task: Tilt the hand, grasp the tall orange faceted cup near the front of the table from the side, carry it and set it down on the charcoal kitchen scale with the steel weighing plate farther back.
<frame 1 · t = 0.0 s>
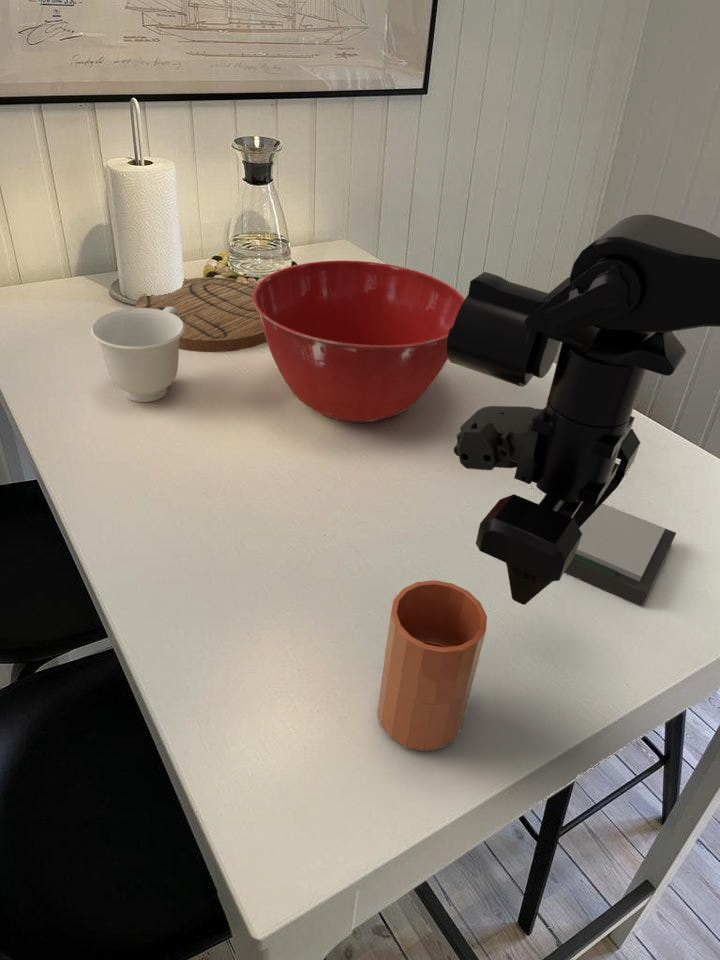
hand: (540, 568, 62), 14 cm above the table, tool pointing down, fingers open, 9 cm apart
trivet: (212, 318, 126), on the table
scale: (604, 552, 85), on the table
teacup: (151, 388, 107), on the table
mixing bowl: (354, 399, 108), on the table
orange faceted cup: (419, 717, 65), on the table
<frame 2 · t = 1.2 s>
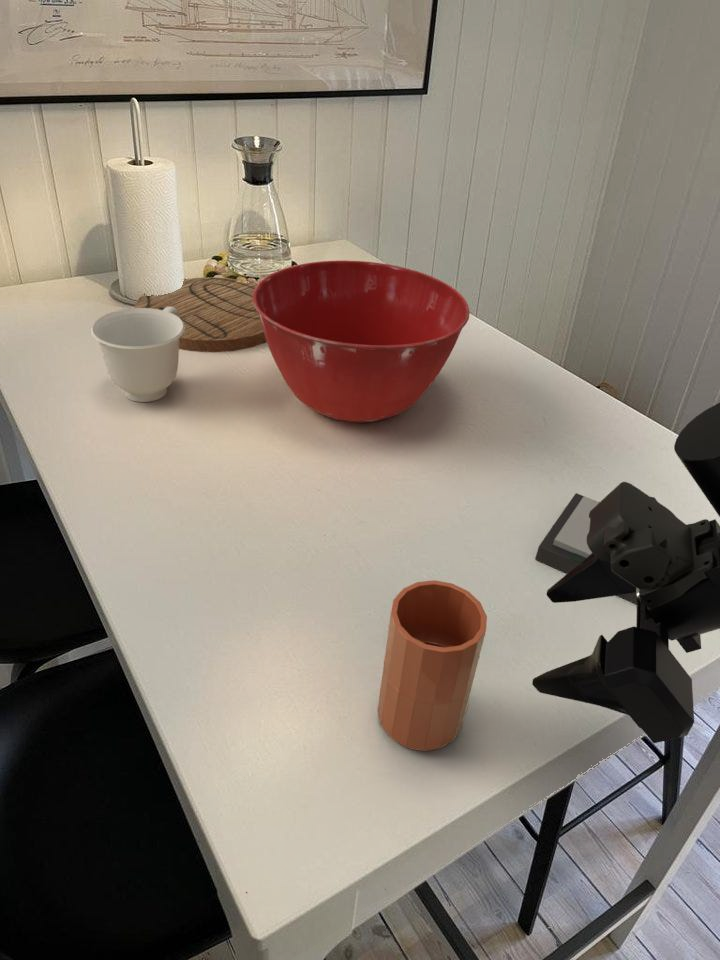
hand: (542, 638, 56), 13 cm above the table, tool tilted 45°, fingers open, 9 cm apart
nothing on the table moved.
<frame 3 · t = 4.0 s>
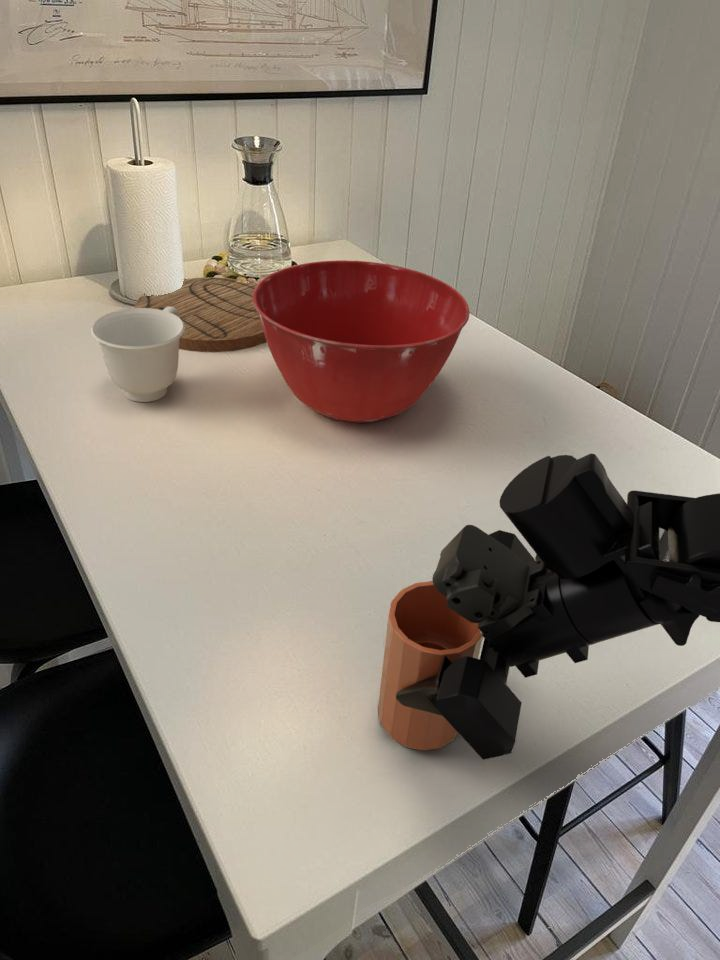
hand: (411, 661, 62), 7 cm above the table, tool tilted 45°, fingers closed on orange faceted cup, 7 cm apart
orange faceted cup: (419, 716, 65), on the table, touching gripper
everything else where it was.
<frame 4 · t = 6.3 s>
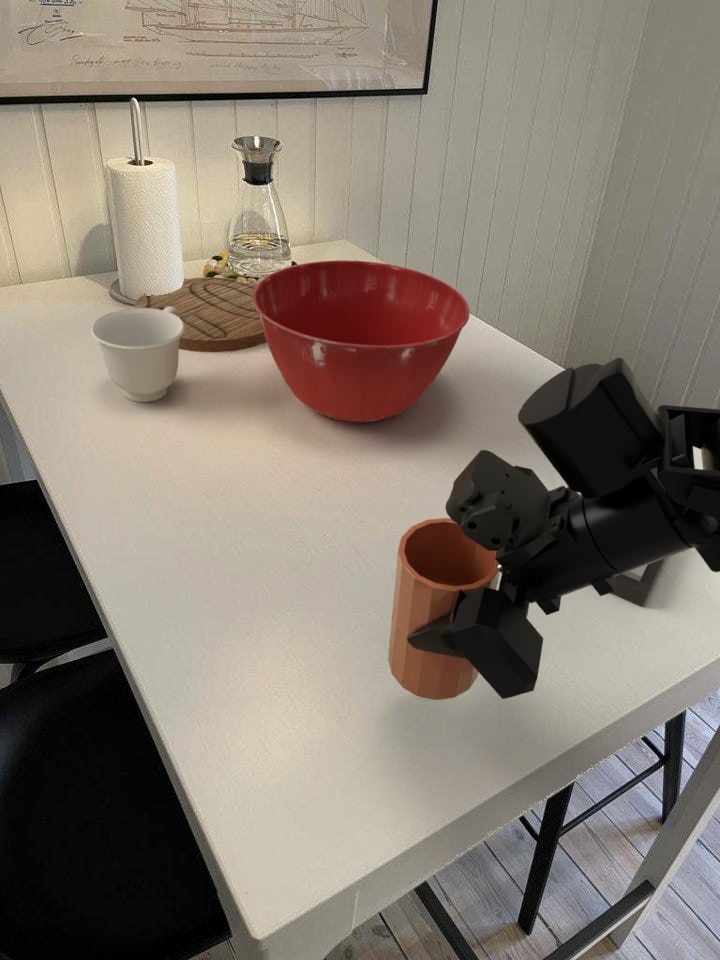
hand: (422, 606, 58), 13 cm above the table, tool tilted 45°, fingers closed on orange faceted cup, 7 cm apart
orange faceted cup: (432, 666, 62), point 7 cm above the table, touching gripper
everything else where it was.
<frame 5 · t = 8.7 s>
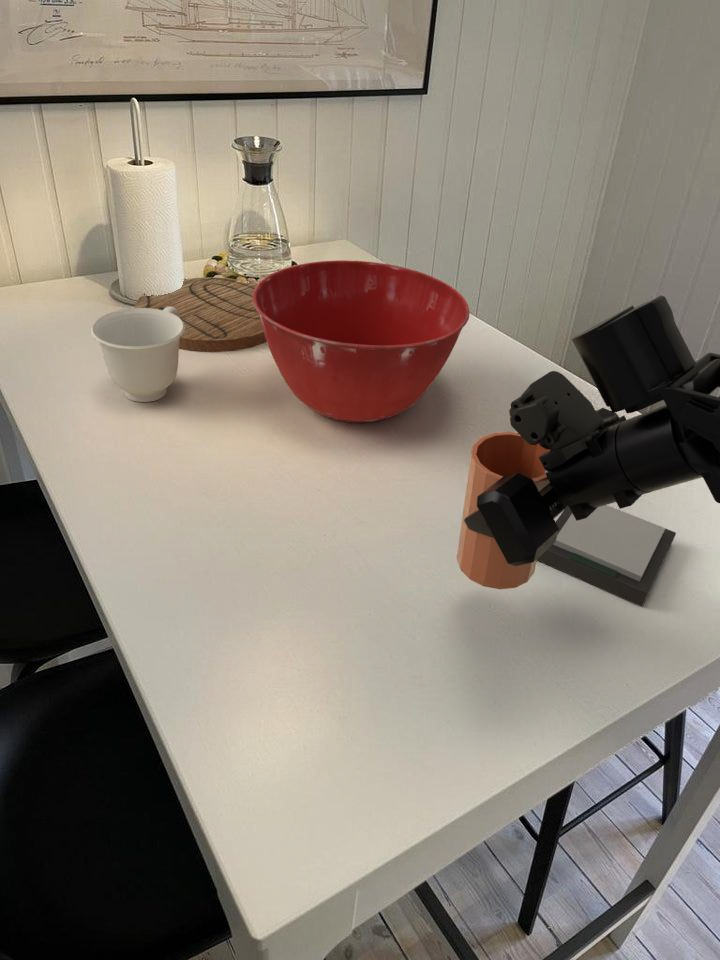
hand: (491, 504, 69), 13 cm above the table, tool tilted 45°, fingers closed on orange faceted cup, 7 cm apart
orange faceted cup: (494, 566, 72), point 7 cm above the table, touching gripper
everything else where it was.
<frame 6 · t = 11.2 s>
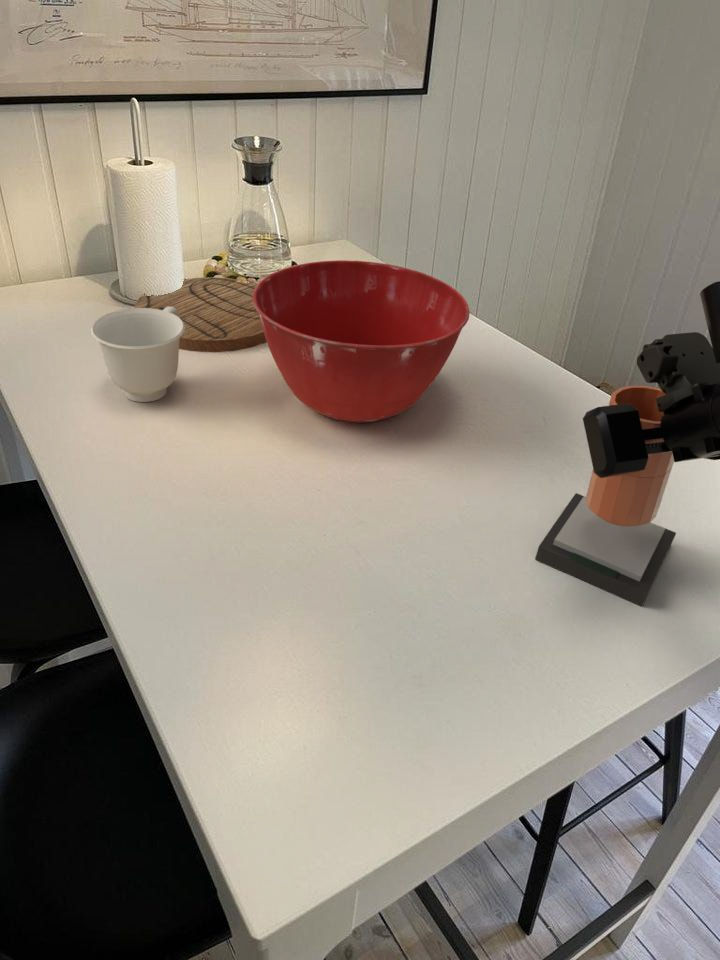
hand: (626, 449, 78), 13 cm above the table, tool tilted 45°, fingers closed on orange faceted cup, 7 cm apart
orange faceted cup: (619, 508, 81), point 7 cm above the table, touching gripper
everything else where it was.
when the fingers open (10 cm above the table, at t = 13.4 s): orange faceted cup stays where it is, resting on scale.
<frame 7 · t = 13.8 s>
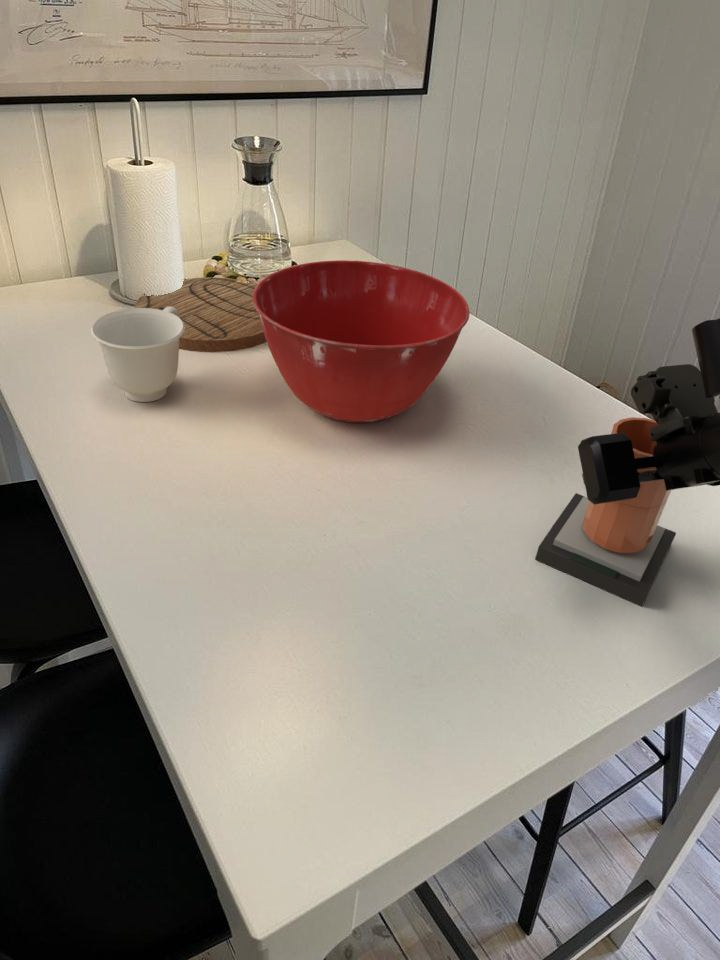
hand: (622, 473, 80), 10 cm above the table, tool tilted 45°, fingers open, 9 cm apart
orange faceted cup: (614, 534, 83), point 3 cm above the table, touching scale
everything else where it was.
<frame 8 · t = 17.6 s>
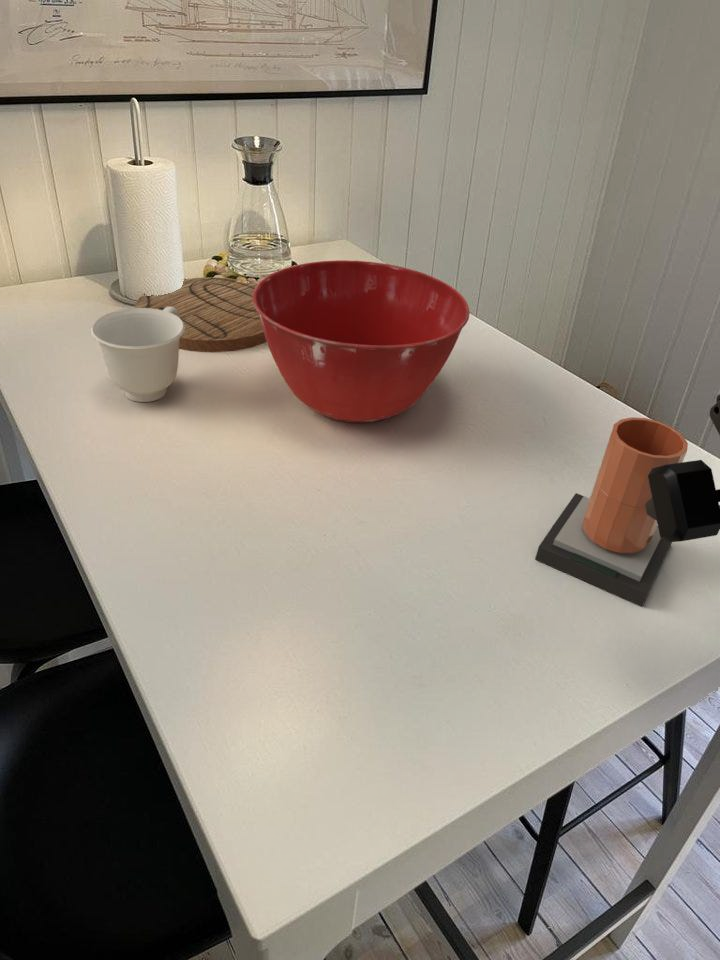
hand: (688, 502, 71), 14 cm above the table, tool tilted 45°, fingers open, 9 cm apart
nothing on the table moved.
at the end: orange faceted cup inside the target area on the scale (0.4 cm from its centre), point 2.8 cm above the scale's base; orange faceted cup tilted 0°; the gripper is holding nothing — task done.
